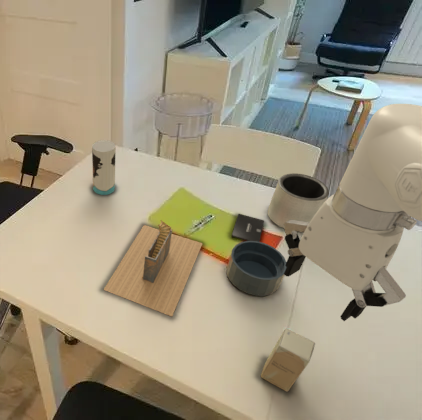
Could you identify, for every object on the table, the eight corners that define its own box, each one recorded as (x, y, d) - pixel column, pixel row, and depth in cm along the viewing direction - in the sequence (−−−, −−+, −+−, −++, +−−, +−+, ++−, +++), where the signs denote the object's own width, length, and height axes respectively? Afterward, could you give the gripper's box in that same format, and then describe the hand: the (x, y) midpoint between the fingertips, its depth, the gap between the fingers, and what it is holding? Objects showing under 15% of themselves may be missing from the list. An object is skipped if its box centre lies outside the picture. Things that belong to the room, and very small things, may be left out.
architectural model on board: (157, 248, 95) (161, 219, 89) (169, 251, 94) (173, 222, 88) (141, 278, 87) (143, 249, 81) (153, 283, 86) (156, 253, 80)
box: (259, 377, 69) (277, 344, 62) (266, 359, 72) (284, 326, 65) (289, 393, 67) (310, 361, 60) (295, 374, 70) (316, 341, 63)
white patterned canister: (115, 182, 118) (115, 140, 109) (114, 195, 113) (115, 152, 104) (93, 182, 118) (92, 139, 109) (92, 194, 113) (91, 151, 104)
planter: (297, 202, 110) (311, 170, 103) (324, 230, 101) (340, 197, 94) (258, 206, 109) (269, 175, 102) (281, 235, 99) (294, 202, 92)
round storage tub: (290, 283, 87) (298, 265, 83) (255, 305, 82) (262, 288, 78) (249, 251, 94) (255, 234, 91) (215, 270, 89) (220, 253, 86)
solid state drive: (263, 222, 103) (264, 220, 103) (258, 245, 96) (259, 243, 96) (237, 215, 105) (238, 213, 105) (231, 237, 98) (231, 235, 98)
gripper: (460, 234, 42) (388, 323, 53) (322, 165, 54) (286, 249, 65) (427, 259, 39) (358, 348, 50) (288, 180, 51) (256, 266, 61)
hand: (318, 292), depth 57 cm, fingers open, 9 cm apart
